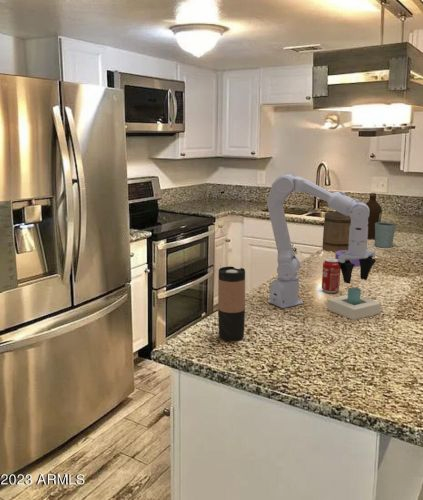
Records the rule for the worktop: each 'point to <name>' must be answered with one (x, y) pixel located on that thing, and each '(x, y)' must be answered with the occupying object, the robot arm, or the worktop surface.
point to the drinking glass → (384, 234)
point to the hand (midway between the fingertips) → (355, 280)
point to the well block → (354, 307)
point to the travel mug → (231, 303)
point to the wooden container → (336, 231)
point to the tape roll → (345, 253)
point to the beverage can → (331, 275)
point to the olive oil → (373, 215)
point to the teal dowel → (354, 296)
